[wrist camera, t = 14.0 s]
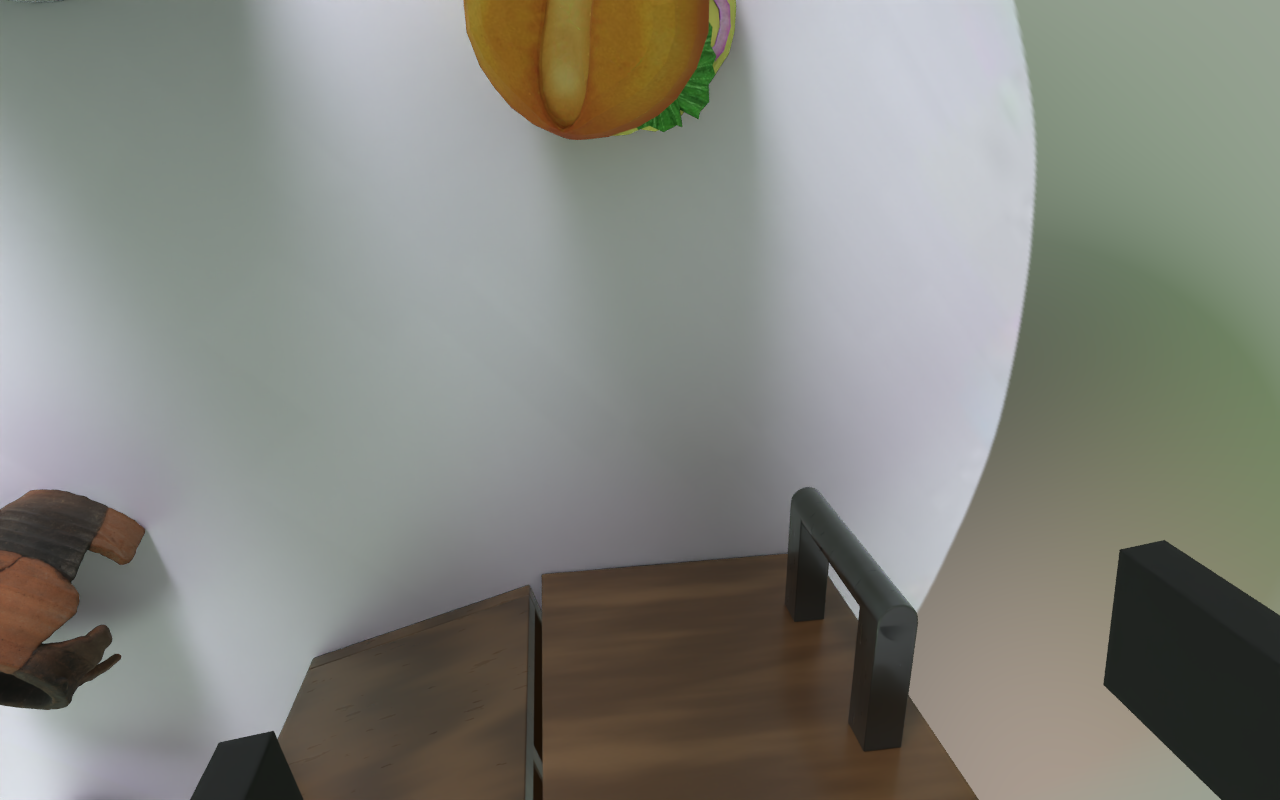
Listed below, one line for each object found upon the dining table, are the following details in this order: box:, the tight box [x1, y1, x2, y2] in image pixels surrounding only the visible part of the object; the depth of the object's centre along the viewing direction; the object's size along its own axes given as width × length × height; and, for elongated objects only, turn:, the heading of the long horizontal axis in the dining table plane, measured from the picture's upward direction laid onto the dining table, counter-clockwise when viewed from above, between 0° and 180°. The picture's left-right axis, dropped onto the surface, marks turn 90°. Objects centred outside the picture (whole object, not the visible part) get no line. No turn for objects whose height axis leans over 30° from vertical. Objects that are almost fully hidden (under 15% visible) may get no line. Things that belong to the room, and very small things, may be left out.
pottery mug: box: [0, 490, 145, 710], centre depth 35 cm, size 12×10×8 cm
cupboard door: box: [542, 487, 979, 800], centre depth 32 cm, size 8×16×20 cm, turn 91°
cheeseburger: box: [464, 0, 736, 140], centre depth 29 cm, size 10×11×10 cm
